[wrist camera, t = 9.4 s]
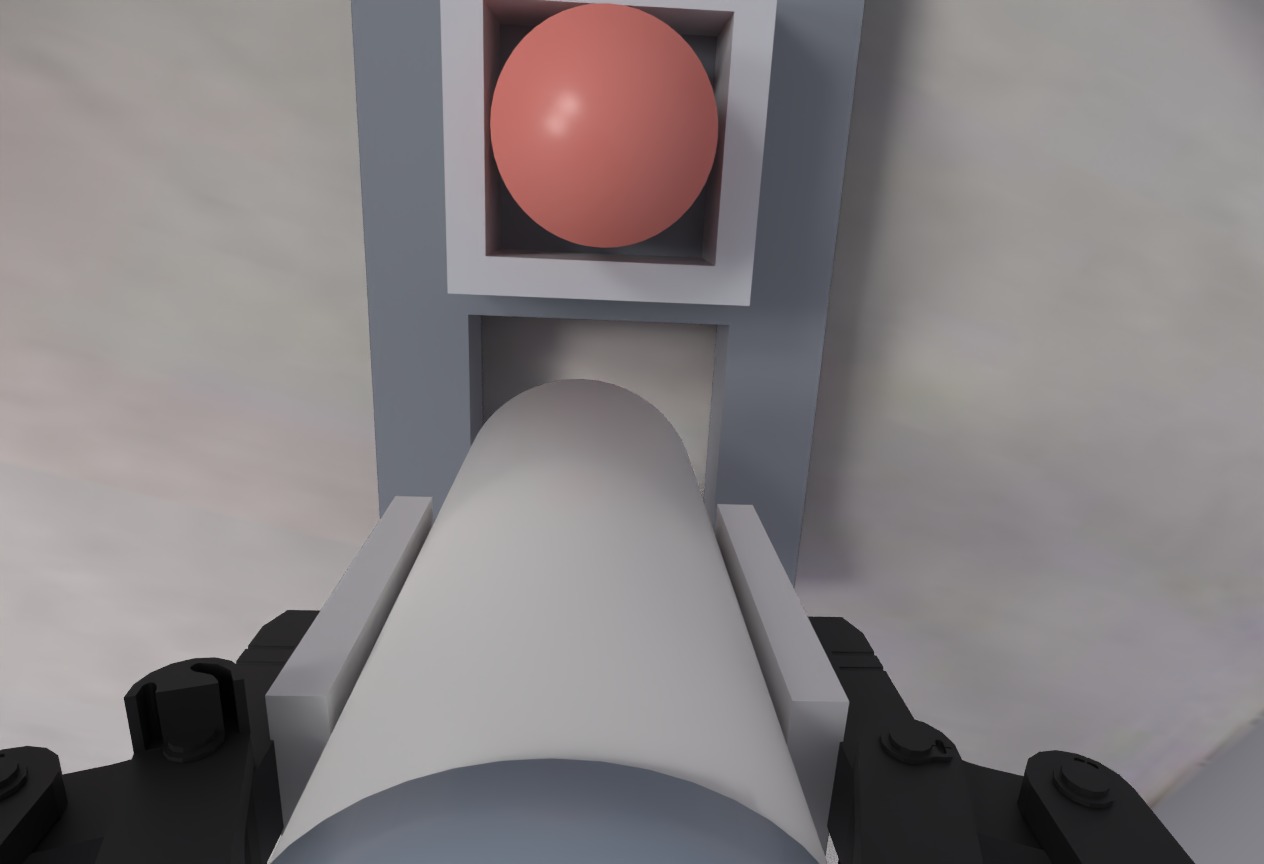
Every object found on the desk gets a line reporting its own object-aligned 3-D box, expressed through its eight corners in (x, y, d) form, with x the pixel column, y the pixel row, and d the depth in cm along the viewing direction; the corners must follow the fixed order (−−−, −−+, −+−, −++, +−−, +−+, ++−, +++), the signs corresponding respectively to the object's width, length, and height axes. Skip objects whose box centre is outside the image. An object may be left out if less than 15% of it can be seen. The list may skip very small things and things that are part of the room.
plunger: (516, 232, 22) (491, 242, 17) (516, 42, 21) (489, -4, 16) (687, 240, 22) (709, 252, 18) (699, 52, 21) (727, 10, 16)
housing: (402, 557, 28) (356, 640, 23) (359, -361, 20) (273, -554, 15) (777, 567, 29) (815, 650, 24) (876, -321, 21) (967, -493, 16)
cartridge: (461, 593, 21) (167, 1478, 7) (456, 371, 19) (27, 929, 5) (688, 597, 21) (878, 1445, 7) (704, 379, 19) (1012, 923, 5)
